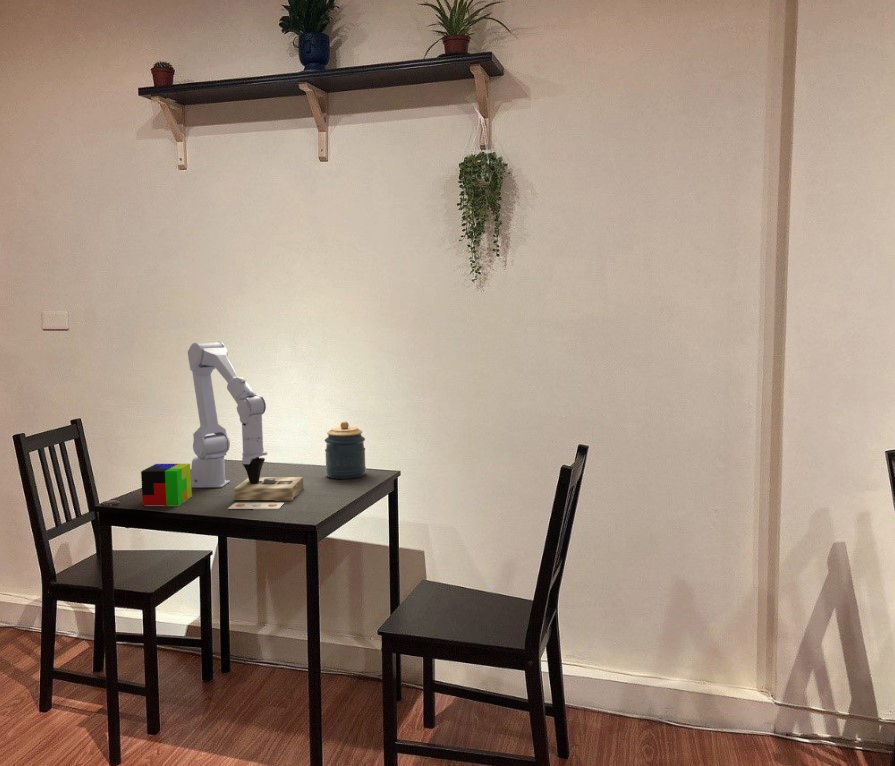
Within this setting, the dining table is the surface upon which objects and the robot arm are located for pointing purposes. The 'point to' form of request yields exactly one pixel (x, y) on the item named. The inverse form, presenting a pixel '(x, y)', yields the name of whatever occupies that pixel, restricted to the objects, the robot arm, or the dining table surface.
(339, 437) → the canister
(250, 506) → the card
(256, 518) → the dining table surface
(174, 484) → the puzzle toy
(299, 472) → the dining table surface
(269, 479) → the middle button
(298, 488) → the button board
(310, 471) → the dining table surface
